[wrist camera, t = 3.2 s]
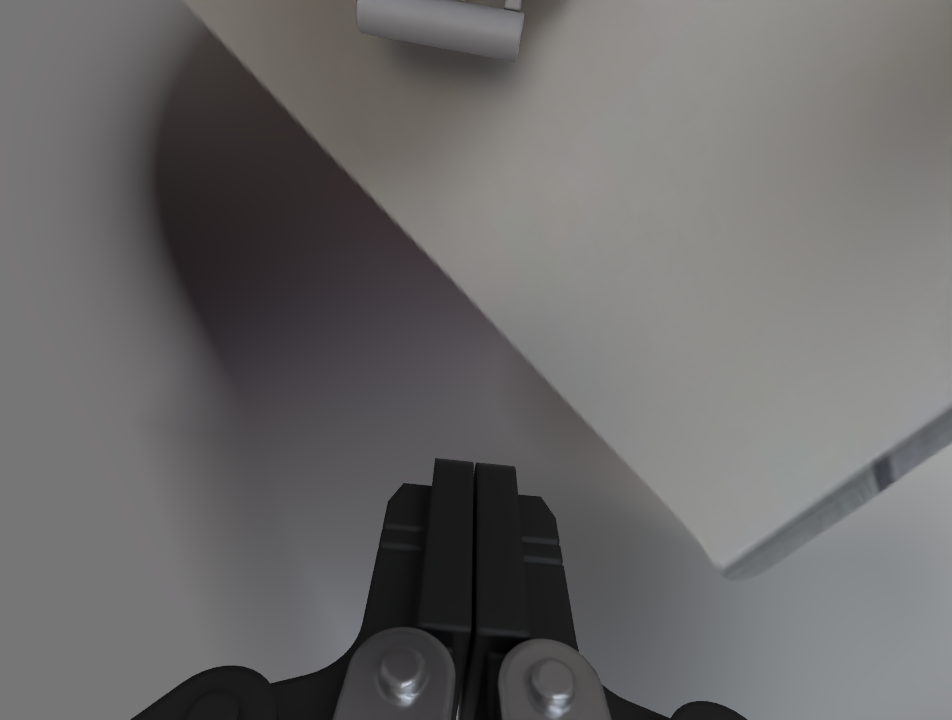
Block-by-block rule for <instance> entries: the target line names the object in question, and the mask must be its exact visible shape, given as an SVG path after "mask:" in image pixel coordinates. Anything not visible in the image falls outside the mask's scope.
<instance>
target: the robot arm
mask: <svg viewBox="0 0 952 720" xmlns="http://www.w3.org/2000/svg"><path fill="white" fill-rule="evenodd" d="M473 472H474V473H473ZM473 476H474V477H473ZM562 562H563V560H562V554H561V548H560V546H559V536H558V530H557V524H556V518H555V517H554V515H553V514H552V513H551V511H550V509H549V508H548V506H547V505H546V504H545V502H544V501H543V499H542V498H541V497H538V496H526V495H518V489H517V479H516V470H515V467H514V466H506V465H496V464H486V463H476V465H475V471H474V464H473V462H468V461H457V460H448V459H438V458H435V465H434V474H433V483H432V486H427V485H416V484H407V483H406V484H405V483H404V484H403V485H402V486H401V487H400V488H399V489H398V490H397V492H396V493H395V494H394V495H393V496H392V498H391V499H390V500H389V501H388V505H387V509H386V514H385V518H384V523H383V529H382V533H381V538H380V542H379V549H378V552H377V556H376V562H375V566H374V571H373V576H372V580H371V585H370V590H369V595H368V599H367V604H366V609H365V614H364V618H363V623H362V626H361V630H360V632H359V634H358V637H357V639H356V640H355V642H354V643H353V645H352V646H351V648H350V649H349V650H348V651H347V652H346V653H345V654H344V655H343V656H342V657H340V658H339V659H338V660H337V661H336V662H334V663H332V664H331V665H329V666H328V667H326V668H324V669H321V670H319V671H317V672H314V673H311V674H308V675H304V676H300V677H296V678H292V679H287V680H283V681H279V682H275V683H271V684H270V683H269V682H268V680H267V679H266V678H265V677H263V676H262V675H261V674H260V673H258V672H256V671H254V670H252V669H249V668H246V667H242V666H221V667H216V668H212V669H209V670H205V671H203V672H201V673H199V674H196V675H194V676H192V677H191V678H189V679H187V680H186V681H184V682H183V683H181V684H180V685H178V686H177V687H176V688H174V689H173V690H171V691H170V692H169V693H167V694H166V695H164V696H163V697H162V698H160V699H159V700H157V701H156V702H155V703H153V704H152V705H151V706H149V707H148V708H146V709H145V710H143V711H142V712H141V713H139V714H138V715H136V716H135V717H134V718H132V719H131V720H456V716H457V710H458V704H459V710H458V720H747V719H746V718H744V717H743V716H741V715H740V714H738V713H737V712H735V711H733V710H731V709H729V708H727V707H725V706H723V705H720V704H717V703H713V702H708V701H696V702H690V703H687V704H685V705H683V706H681V707H680V708H679V709H677V710H676V712H675V713H674V714H673V715H672V717H671V719H670V718H668V717H665V716H663V715H661V714H658V713H656V712H653V711H651V710H649V709H646V708H644V707H641V706H639V705H636V704H634V703H632V702H629V701H627V700H625V699H623V698H621V697H619V696H617V695H616V694H614V693H613V692H611V691H609V690H608V689H607V688H606V687H604V686H603V685H602V684H601V681H600V678H599V676H598V674H597V673H596V671H595V669H594V668H593V666H592V665H591V664H590V662H589V661H588V660H587V659H586V658H585V657H584V656H583V655H581V654H580V653H579V650H578V646H577V642H576V636H575V631H574V625H573V619H572V613H571V607H570V601H569V595H568V590H567V584H566V577H565V571H564V566H563V565H562Z"/></svg>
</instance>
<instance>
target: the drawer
mask: <svg viewBox="0 0 952 720" xmlns="http://www.w3.org/2000/svg"><path fill="white" fill-rule="evenodd" d="M521 3H522V0H505V2H504V9H500V8H495V7H489V6H484V5H479V4H473V3H468V2H463V1H457V0H357V3H356V20H357V26H358V30H359V32H361V33H363V34H369V35H374V36H379V37H385V38H390V39H395V40H401V41H406V42H411V43H417V44H422V45H427V46H433V47H438V48H444V49H449V50H454V51H460V52H465V53H470V54H476V55H481V56H486V57H492V58H497V59H502V60H508V61H513V62H515V61H516V60H517V57H518V52H519V46H520V41H521V35H522V29H523V23H524V16H525V15H524V13H521V12H520V9H521Z"/></svg>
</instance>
